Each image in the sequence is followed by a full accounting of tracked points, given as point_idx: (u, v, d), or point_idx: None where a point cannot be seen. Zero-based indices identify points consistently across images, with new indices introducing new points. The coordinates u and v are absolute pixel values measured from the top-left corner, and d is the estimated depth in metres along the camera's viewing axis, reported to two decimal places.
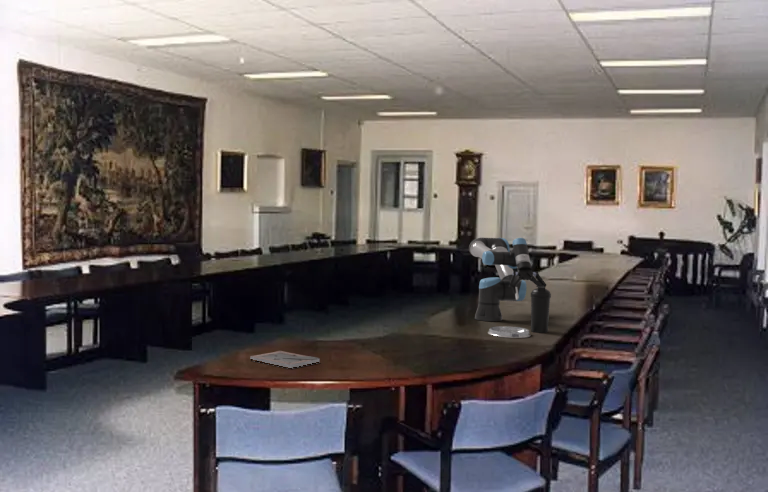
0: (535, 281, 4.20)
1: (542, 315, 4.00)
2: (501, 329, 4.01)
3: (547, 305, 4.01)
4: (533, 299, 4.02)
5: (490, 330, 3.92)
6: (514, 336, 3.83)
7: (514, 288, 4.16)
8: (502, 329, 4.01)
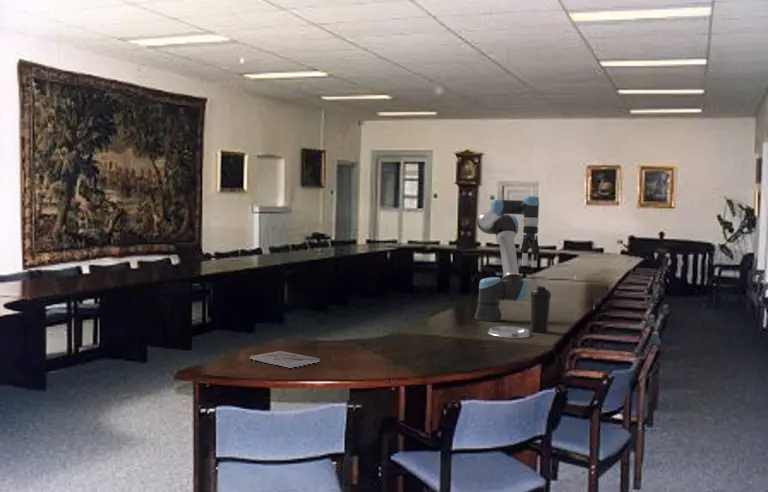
0: None
1: (542, 315, 4.00)
2: (501, 329, 4.01)
3: (547, 305, 4.01)
4: (533, 299, 4.02)
5: (490, 330, 3.92)
6: (514, 336, 3.83)
7: None
8: (502, 329, 4.01)
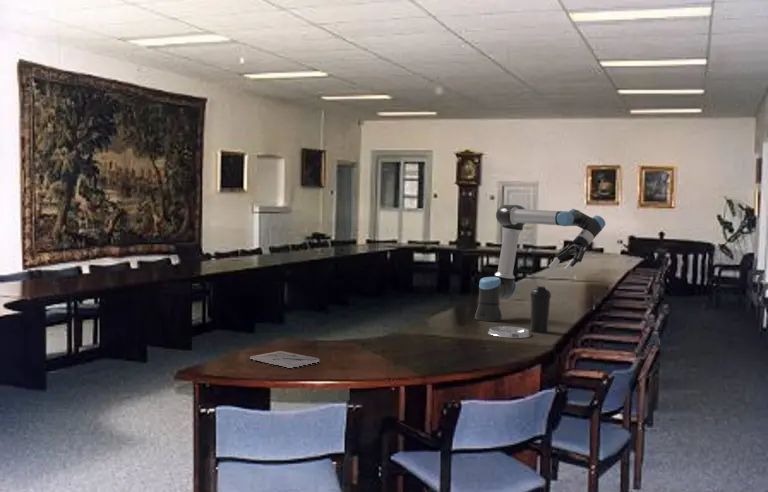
0: (574, 254, 4.06)
1: (542, 315, 4.00)
2: (501, 329, 4.01)
3: (547, 305, 4.01)
4: (533, 299, 4.02)
5: (490, 330, 3.92)
6: (514, 336, 3.83)
7: (555, 259, 4.16)
8: (502, 329, 4.01)
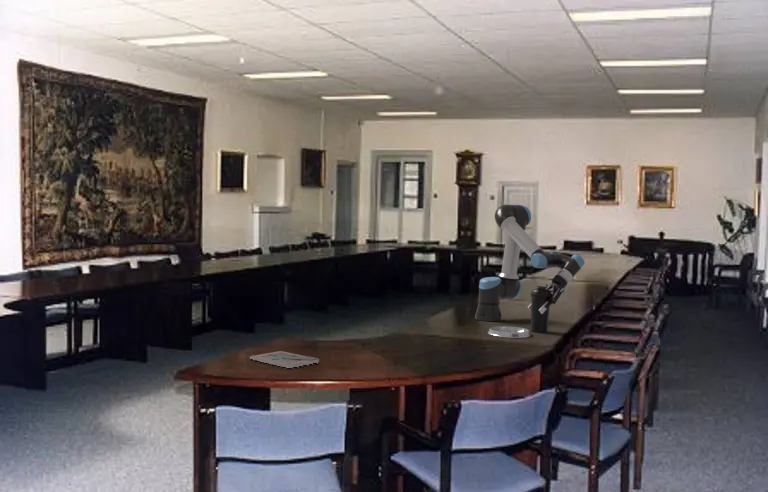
0: None
1: (542, 315, 4.00)
2: (501, 329, 4.01)
3: None
4: (533, 299, 4.02)
5: (490, 330, 3.92)
6: (514, 336, 3.83)
7: None
8: (502, 329, 4.01)
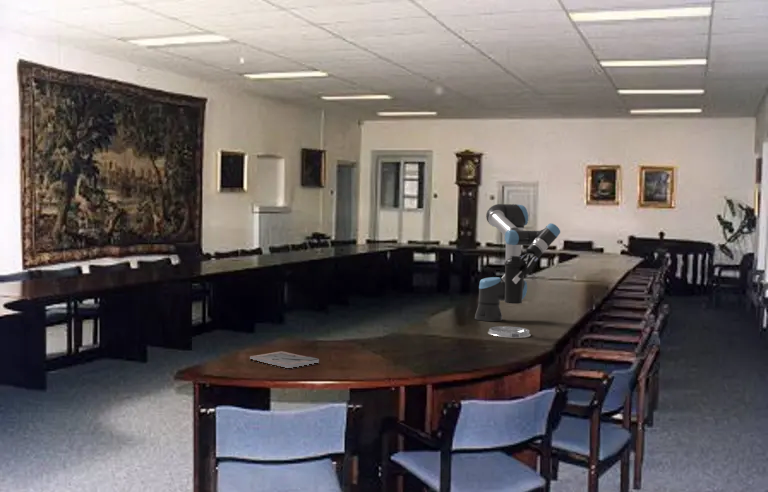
0: None
1: (516, 285, 3.88)
2: (501, 329, 4.01)
3: None
4: (507, 269, 3.90)
5: (490, 330, 3.92)
6: (514, 336, 3.83)
7: None
8: (502, 329, 4.01)
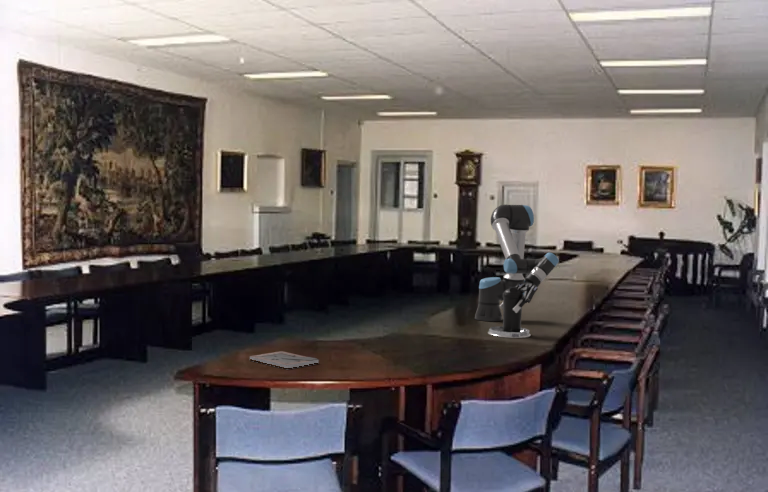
0: (524, 294, 3.91)
1: (514, 316, 3.89)
2: (501, 329, 4.01)
3: None
4: (505, 300, 3.91)
5: (490, 330, 3.92)
6: (514, 336, 3.83)
7: None
8: (502, 329, 4.01)
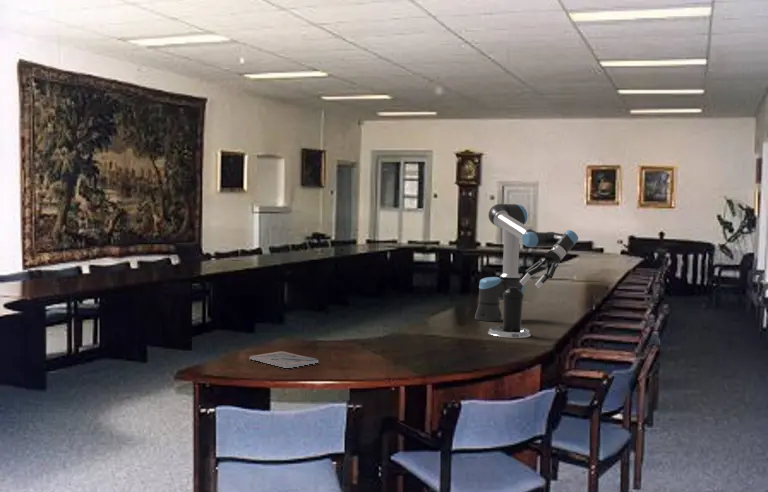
0: (545, 270, 3.94)
1: (514, 316, 3.89)
2: (501, 329, 4.01)
3: (519, 306, 3.90)
4: (505, 300, 3.91)
5: (490, 330, 3.92)
6: (514, 336, 3.83)
7: None
8: (502, 329, 4.01)
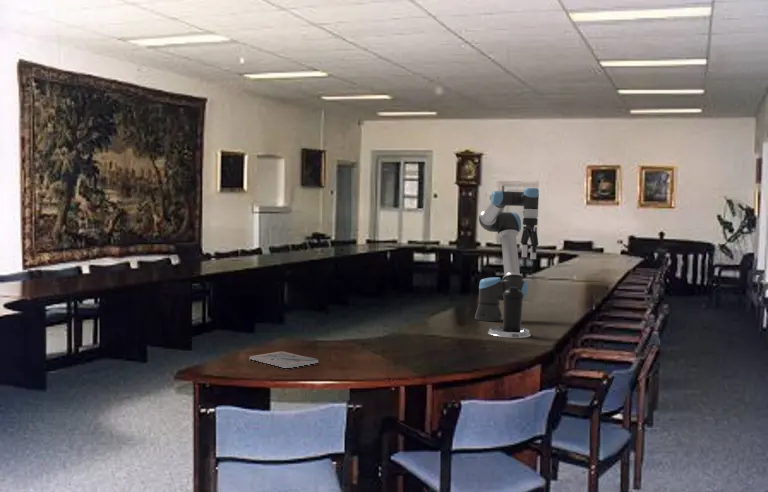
0: None
1: (514, 316, 3.89)
2: (501, 329, 4.01)
3: (519, 306, 3.90)
4: (505, 300, 3.91)
5: (490, 330, 3.92)
6: (514, 336, 3.83)
7: None
8: (502, 329, 4.01)
